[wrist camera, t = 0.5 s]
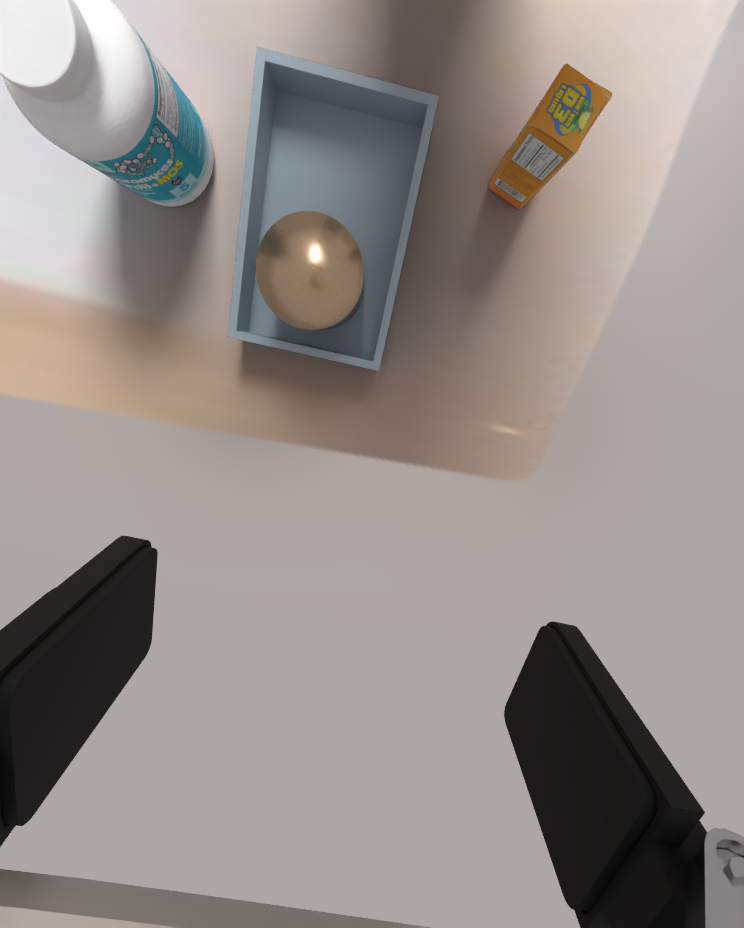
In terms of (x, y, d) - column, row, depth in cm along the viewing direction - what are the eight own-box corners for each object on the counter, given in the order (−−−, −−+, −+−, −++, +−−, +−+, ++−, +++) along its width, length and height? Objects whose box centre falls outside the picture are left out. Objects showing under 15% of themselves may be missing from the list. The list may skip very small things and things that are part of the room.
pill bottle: (131, 211, 31) (-38, 127, 19) (109, 95, 29) (-101, -93, 16) (225, 208, 31) (121, 120, 18) (210, 91, 29) (79, -102, 16)
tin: (284, 224, 31) (262, 198, 25) (374, 246, 32) (374, 225, 26) (271, 319, 33) (249, 316, 27) (355, 339, 34) (351, 340, 28)
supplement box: (507, 142, 30) (570, 53, 20) (544, 169, 30) (621, 95, 21) (481, 187, 31) (530, 121, 21) (517, 213, 31) (580, 160, 22)
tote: (271, 81, 29) (256, 46, 25) (431, 124, 29) (439, 96, 26) (242, 336, 34) (227, 336, 31) (378, 367, 35) (379, 370, 31)
